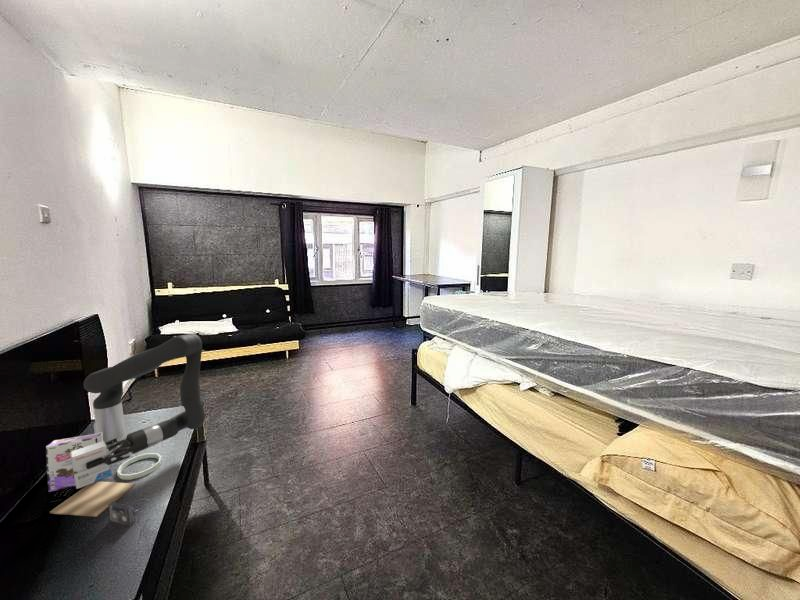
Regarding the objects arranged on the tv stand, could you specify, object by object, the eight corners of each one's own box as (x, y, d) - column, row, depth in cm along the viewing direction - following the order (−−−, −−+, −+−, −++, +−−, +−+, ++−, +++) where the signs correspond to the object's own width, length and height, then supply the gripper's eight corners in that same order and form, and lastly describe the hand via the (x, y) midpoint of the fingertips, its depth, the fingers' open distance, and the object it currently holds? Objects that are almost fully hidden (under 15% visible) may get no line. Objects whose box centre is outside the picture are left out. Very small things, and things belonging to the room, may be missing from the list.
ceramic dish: (108, 478, 119) (108, 474, 118) (139, 456, 132) (138, 452, 131) (141, 480, 118) (141, 476, 118) (169, 457, 131) (169, 453, 131)
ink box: (109, 469, 113) (104, 439, 111) (111, 476, 110) (106, 445, 108) (75, 482, 107) (69, 451, 105) (76, 490, 103) (70, 457, 101)
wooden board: (49, 513, 103) (49, 511, 102) (93, 482, 116) (93, 480, 116) (96, 516, 102) (96, 515, 102) (134, 485, 116) (134, 483, 115)
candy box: (47, 493, 110) (44, 446, 109) (56, 484, 115) (53, 439, 115) (99, 481, 116) (96, 437, 116) (105, 473, 121) (103, 431, 121)
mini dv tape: (135, 522, 100) (133, 506, 99) (130, 526, 99) (128, 509, 98) (115, 517, 102) (113, 500, 101) (110, 520, 100) (108, 504, 100)
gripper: (136, 423, 123) (76, 445, 109) (151, 435, 115) (88, 460, 101) (139, 441, 124) (79, 465, 110) (154, 454, 116) (92, 481, 102)
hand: (84, 462), depth 106 cm, fingers closed on ink box, 5 cm apart
